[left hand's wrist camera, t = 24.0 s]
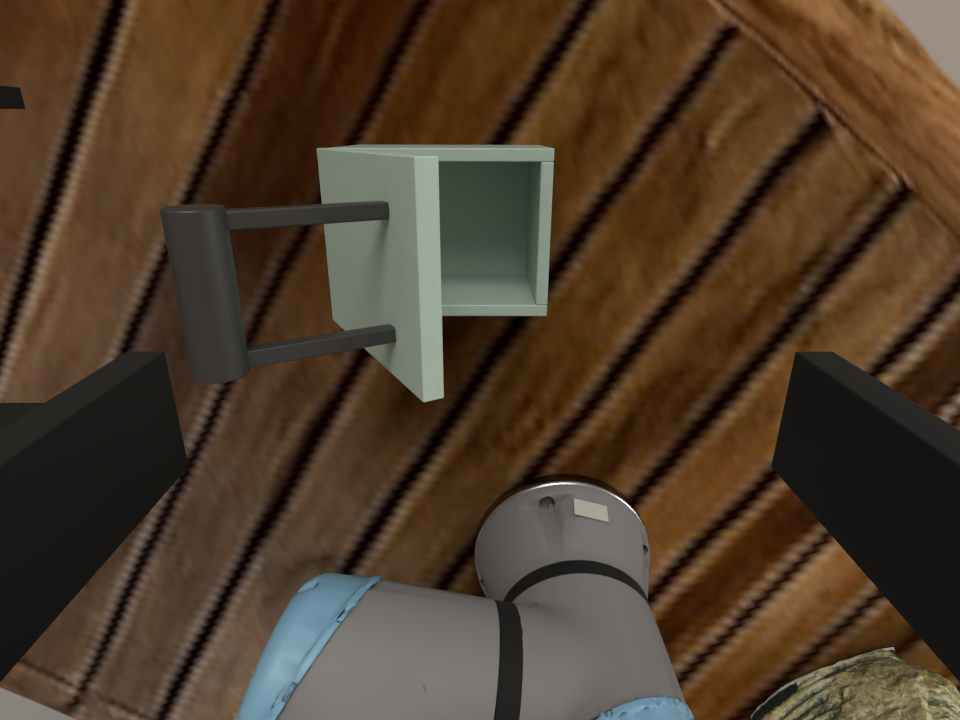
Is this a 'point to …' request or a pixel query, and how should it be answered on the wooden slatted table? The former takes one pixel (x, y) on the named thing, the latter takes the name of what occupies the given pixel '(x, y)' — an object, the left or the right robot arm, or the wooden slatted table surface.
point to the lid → (351, 266)
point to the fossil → (865, 692)
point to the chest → (491, 226)
